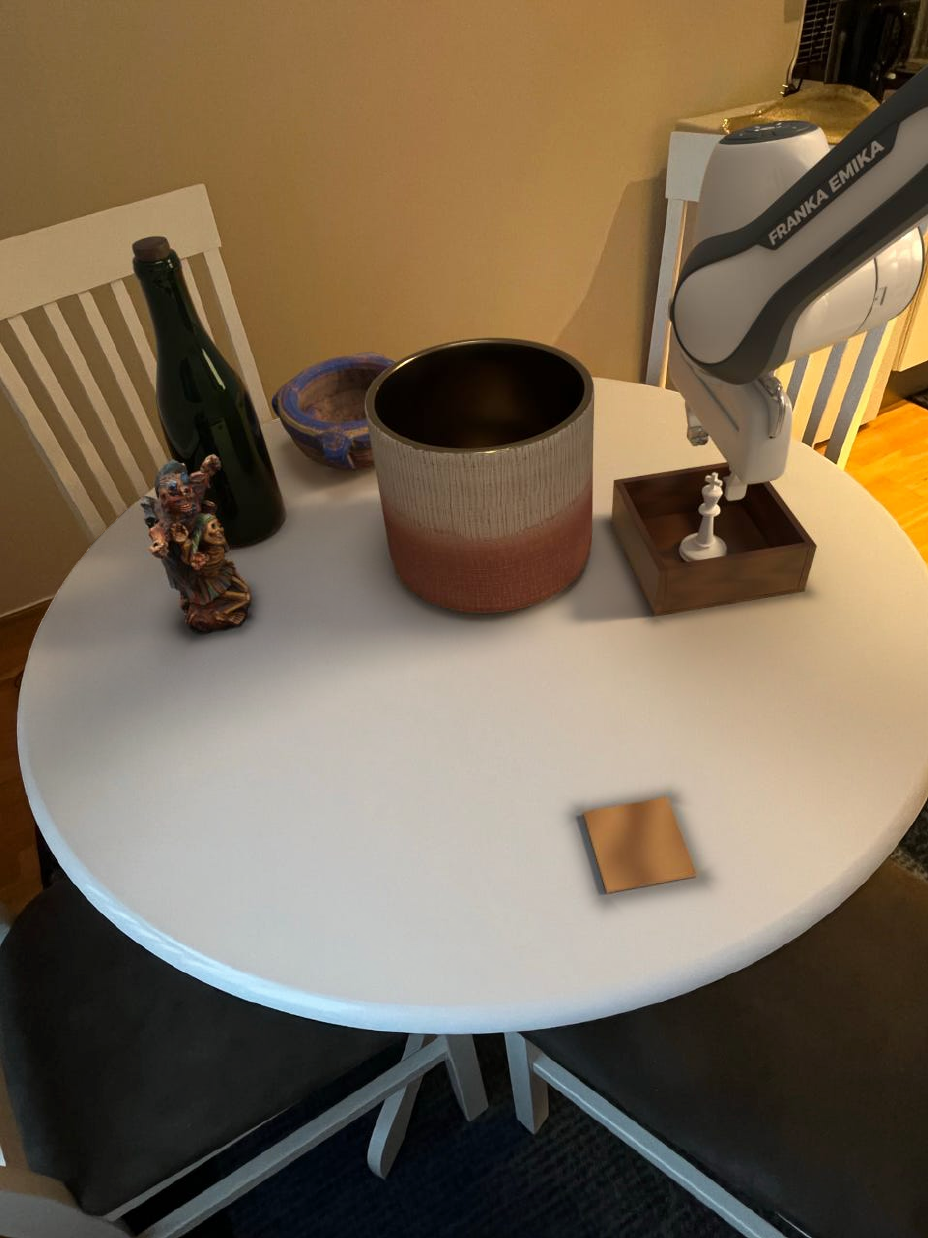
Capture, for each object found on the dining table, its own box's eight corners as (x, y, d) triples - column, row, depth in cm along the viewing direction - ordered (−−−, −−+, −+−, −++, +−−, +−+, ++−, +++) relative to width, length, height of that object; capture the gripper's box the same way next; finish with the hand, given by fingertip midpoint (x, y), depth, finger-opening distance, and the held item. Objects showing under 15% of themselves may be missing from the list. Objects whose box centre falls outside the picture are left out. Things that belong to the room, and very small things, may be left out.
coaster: (666, 799, 68) (667, 796, 68) (696, 876, 63) (697, 874, 63) (583, 814, 68) (583, 811, 67) (606, 893, 63) (606, 891, 62)
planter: (629, 579, 87) (642, 410, 73) (434, 650, 82) (408, 482, 68) (536, 474, 102) (532, 316, 88) (366, 528, 97) (333, 370, 83)
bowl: (324, 512, 100) (306, 440, 93) (273, 445, 112) (254, 378, 105) (454, 462, 106) (446, 391, 99) (392, 403, 117) (382, 336, 110)
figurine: (284, 628, 86) (237, 485, 74) (198, 661, 84) (135, 519, 71) (255, 570, 93) (208, 431, 81) (175, 599, 91) (114, 460, 78)
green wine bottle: (234, 489, 105) (142, 216, 82) (303, 505, 102) (227, 223, 79) (182, 539, 99) (66, 257, 76) (254, 558, 95) (155, 267, 72)
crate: (744, 501, 95) (752, 457, 91) (804, 590, 84) (817, 545, 80) (611, 522, 94) (613, 479, 90) (654, 616, 83) (659, 571, 79)
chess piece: (696, 531, 91) (707, 454, 84) (735, 550, 89) (750, 471, 82) (669, 553, 89) (679, 476, 82) (709, 573, 86) (722, 494, 79)
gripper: (826, 386, 65) (790, 527, 74) (726, 282, 79) (707, 410, 89) (747, 398, 64) (722, 538, 74) (662, 291, 79) (650, 419, 88)
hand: (713, 467), depth 81 cm, fingers open, 8 cm apart
